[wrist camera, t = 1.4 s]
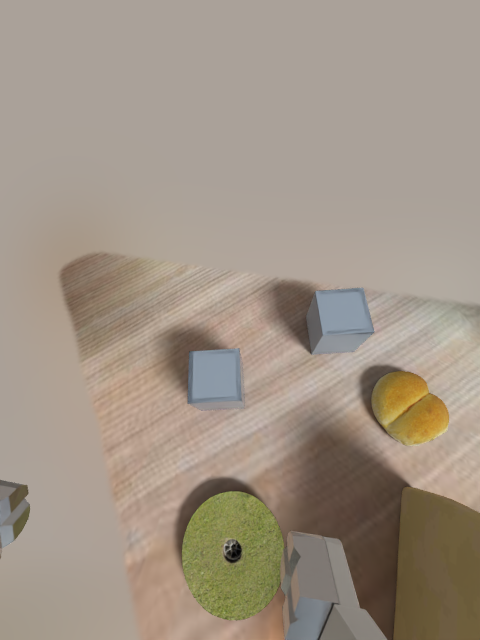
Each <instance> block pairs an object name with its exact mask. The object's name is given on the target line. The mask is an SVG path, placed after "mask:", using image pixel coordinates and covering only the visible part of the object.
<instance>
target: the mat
mask: <svg viewBox="0 0 480 640" xmlns="http://www.w3.org/2000/svg"><path fill="white" fill-rule="evenodd" d="M283 549H284V542H283V537H282V533H281V531H280V527H279V526H278V523H277V521H276V519H275V517H274V516H273V514H272V513H271V511H270V510H269V509H268V508H267V507H266V506H265V505H264V504H263V503H262V502H261V501H259V500H258V499H257V498H255V497H254V496H252V495H249V494H247V493H243V492H239V491H237V492H236V491H234V492H233V491H230V492H224V493H219V494H217V495H215V496H213V497H211V498H209V499H208V500H206V501H205V502H204V503H203V504H202V505H201V506H200V507H199V508H198V509H197V510H196V511H195V513H194V514H193V516H192V518H191V520H190V522H189V524H188V526H187V529H186V531H185V535H184V539H183V545H182V565H183V571H184V574H185V579H186V581H187V584H188V587H189V589H190V591H191V592H192V595H193V596H194V598H196V600H197V602H198V603H199V604H200V605H201V606H202V607H203V608H204V609H205V610H206V611H208V612H209V613H211V614H212V615H214V616H217V617H219V618H222V619H226V620H236V621H237V620H242V619H247V618H249V617H251V616H254V615H255V614H257V613H258V612H259V611H261V610H262V609H263V608H265V607H266V606H267V605H268V604H269V602H270V601H271V600H272V598H273V597H274V595H275V593H276V592H277V590H278V588H279V585H280V581H281V580H280V566H281V557H282V553H283Z"/></svg>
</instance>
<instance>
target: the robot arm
mask: <svg viewBox="0 0 480 640" xmlns="http://www.w3.org/2000/svg"><path fill="white" fill-rule="evenodd" d="M27 495H28V487H27V485H23V484H18V483H13V482H7V481H3V480H0V558H1V553H2V548H4V547H5V546H7V545H8V544H10V543H11V542H13V541H14V540H15V539H16V538H17V537H18V535H19V534H20V533H21V531H22V530H23V528H24V526H25V524H26V522H27V520H28V517H29V513H30V504H29V503H28V502H27V501H26V499H25V497H26V496H27ZM280 580H281V589H282V591H283V592H284V594H285V596H286V598H285V601H284V604H283V607H282V610H283V624H284V637H285V640H387V638H386V637H385V635H384V634H383V633H382V631H381V630H380V629H379V627H378V626H377V624H376V623H375V622H374V620H373V619H372V618H371V616H370V615H369V613H368V612H367V611H366V610H365V609H361V608H360V606H359V602H358V598H357V595H356V591H355V588H354V584H353V581H352V577H351V574H350V570H349V566H348V563H347V559H346V556H345V552H344V549H343V545H342V543H341V541H340V540H339V539H336V538H330V537H323V536H321V535H315V534H308V533H302V532H295V531H290V532H289V533H288V536H287V547H286V548H284V549H283V553H282V557H281V566H280Z"/></svg>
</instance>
